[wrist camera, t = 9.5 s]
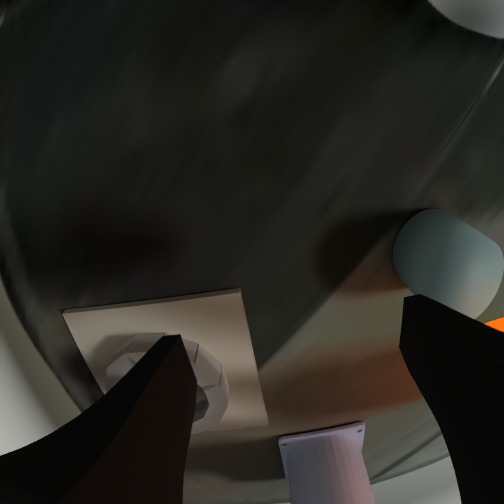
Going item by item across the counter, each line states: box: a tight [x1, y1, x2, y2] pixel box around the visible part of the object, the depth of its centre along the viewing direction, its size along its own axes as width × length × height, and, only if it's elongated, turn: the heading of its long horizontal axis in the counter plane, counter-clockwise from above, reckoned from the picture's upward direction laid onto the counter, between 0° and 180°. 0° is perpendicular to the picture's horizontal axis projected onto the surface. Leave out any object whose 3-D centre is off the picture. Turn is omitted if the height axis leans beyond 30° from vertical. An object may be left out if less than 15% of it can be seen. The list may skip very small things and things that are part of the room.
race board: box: [62, 288, 269, 434], centre depth 21 cm, size 13×13×3 cm
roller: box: [393, 209, 504, 319], centre depth 16 cm, size 6×6×5 cm
